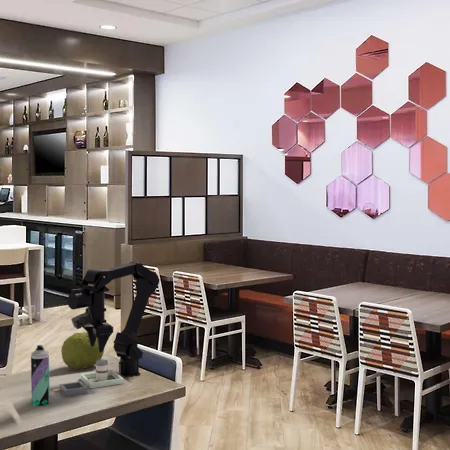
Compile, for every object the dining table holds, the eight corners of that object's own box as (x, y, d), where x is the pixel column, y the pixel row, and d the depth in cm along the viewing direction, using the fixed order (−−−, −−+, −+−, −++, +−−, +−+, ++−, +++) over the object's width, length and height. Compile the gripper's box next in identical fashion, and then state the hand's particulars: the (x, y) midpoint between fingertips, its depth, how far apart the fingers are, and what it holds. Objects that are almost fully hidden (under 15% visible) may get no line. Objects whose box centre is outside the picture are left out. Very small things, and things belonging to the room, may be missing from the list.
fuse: (105, 380, 233) (105, 358, 232) (109, 384, 229) (109, 361, 229) (94, 382, 231) (94, 360, 231) (98, 385, 228) (97, 363, 227)
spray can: (31, 405, 209) (30, 344, 208) (48, 403, 211) (47, 342, 210) (32, 411, 204) (31, 348, 203) (50, 409, 206) (49, 346, 205)
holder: (86, 389, 226) (86, 379, 225) (95, 397, 217) (95, 387, 217) (51, 394, 220) (51, 384, 220) (58, 403, 211) (58, 392, 211)
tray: (113, 378, 238) (112, 369, 238) (123, 387, 228) (123, 378, 228) (80, 382, 233) (80, 374, 233) (90, 392, 222) (90, 383, 222)
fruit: (79, 359, 262) (97, 327, 262) (98, 379, 254) (117, 346, 253) (48, 355, 250) (66, 321, 249) (67, 376, 241) (87, 340, 240)
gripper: (65, 302, 234) (66, 345, 235) (81, 312, 218) (82, 358, 219) (96, 300, 239) (96, 342, 240) (113, 309, 223) (114, 354, 224)
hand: (96, 349), depth 231 cm, fingers open, 9 cm apart
